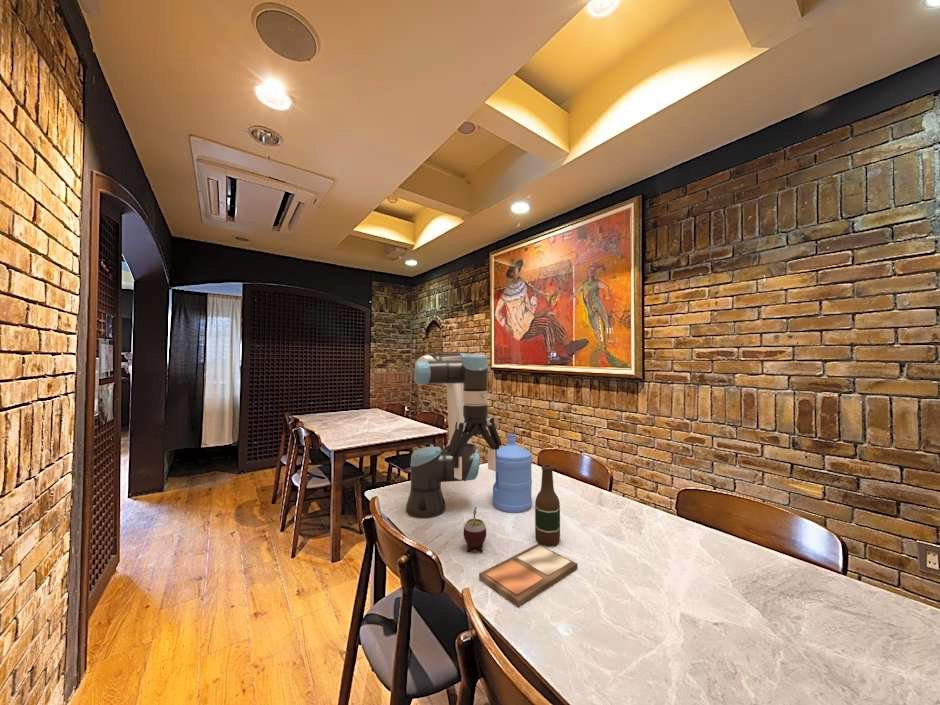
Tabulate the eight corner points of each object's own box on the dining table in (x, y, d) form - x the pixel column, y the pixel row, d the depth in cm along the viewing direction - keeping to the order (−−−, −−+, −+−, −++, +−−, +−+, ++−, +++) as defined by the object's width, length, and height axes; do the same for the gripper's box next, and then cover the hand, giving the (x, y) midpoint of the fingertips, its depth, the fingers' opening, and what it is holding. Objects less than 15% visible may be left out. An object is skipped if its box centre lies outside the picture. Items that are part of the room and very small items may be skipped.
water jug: (537, 502, 146) (537, 433, 146) (521, 516, 132) (521, 440, 133) (503, 494, 154) (503, 429, 155) (485, 507, 141) (485, 435, 141)
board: (479, 579, 95) (479, 572, 95) (537, 548, 110) (537, 542, 110) (518, 607, 84) (518, 599, 84) (577, 569, 100) (577, 562, 100)
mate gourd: (474, 540, 115) (474, 493, 116) (493, 549, 110) (493, 500, 110) (457, 548, 110) (457, 499, 110) (476, 559, 104) (476, 507, 105)
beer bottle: (560, 548, 110) (560, 470, 111) (534, 546, 112) (534, 468, 112) (559, 536, 118) (559, 462, 118) (535, 534, 119) (535, 461, 120)
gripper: (450, 409, 100) (450, 486, 99) (512, 402, 116) (512, 468, 115) (434, 406, 106) (434, 479, 105) (496, 400, 121) (496, 463, 121)
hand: (475, 474), depth 110 cm, fingers open, 13 cm apart
